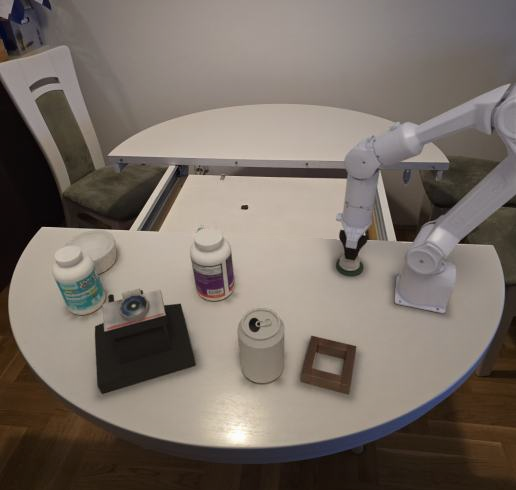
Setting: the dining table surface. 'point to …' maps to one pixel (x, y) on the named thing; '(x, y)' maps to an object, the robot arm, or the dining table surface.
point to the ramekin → (97, 248)
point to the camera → (140, 340)
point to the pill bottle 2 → (212, 264)
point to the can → (261, 345)
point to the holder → (327, 378)
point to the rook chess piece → (349, 263)
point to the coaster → (349, 273)
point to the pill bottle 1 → (78, 280)
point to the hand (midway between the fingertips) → (351, 253)
